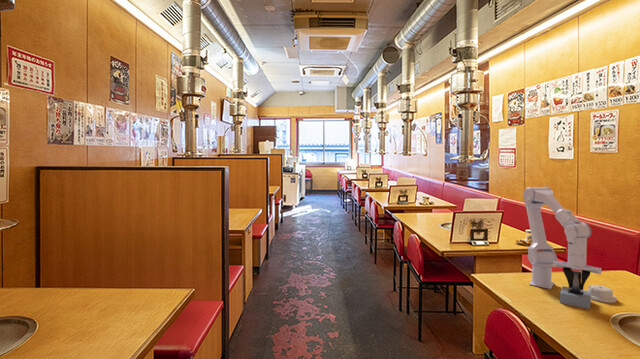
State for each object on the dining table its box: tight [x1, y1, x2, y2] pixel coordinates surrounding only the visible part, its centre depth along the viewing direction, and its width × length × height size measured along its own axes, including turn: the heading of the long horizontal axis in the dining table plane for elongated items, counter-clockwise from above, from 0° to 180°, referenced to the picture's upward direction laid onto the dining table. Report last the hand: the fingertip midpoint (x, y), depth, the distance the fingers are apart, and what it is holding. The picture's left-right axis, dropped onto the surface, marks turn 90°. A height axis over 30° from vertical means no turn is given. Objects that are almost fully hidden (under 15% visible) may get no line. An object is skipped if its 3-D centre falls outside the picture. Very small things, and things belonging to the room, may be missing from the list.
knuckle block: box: [559, 285, 592, 310], centre depth 127 cm, size 9×9×4 cm
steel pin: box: [571, 269, 582, 295], centre depth 127 cm, size 3×3×9 cm
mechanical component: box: [586, 284, 618, 304], centre depth 131 cm, size 10×4×10 cm
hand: (575, 288), depth 127 cm, fingers closed on steel pin, 3 cm apart
